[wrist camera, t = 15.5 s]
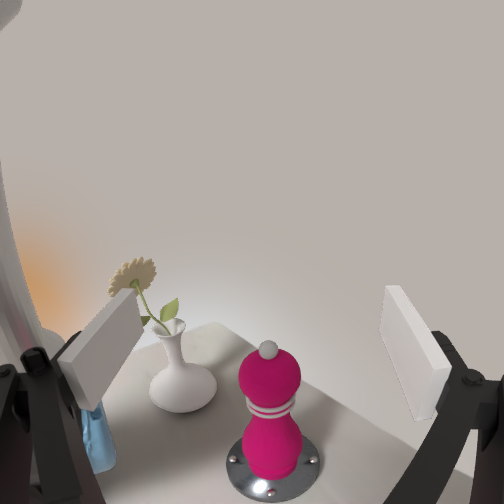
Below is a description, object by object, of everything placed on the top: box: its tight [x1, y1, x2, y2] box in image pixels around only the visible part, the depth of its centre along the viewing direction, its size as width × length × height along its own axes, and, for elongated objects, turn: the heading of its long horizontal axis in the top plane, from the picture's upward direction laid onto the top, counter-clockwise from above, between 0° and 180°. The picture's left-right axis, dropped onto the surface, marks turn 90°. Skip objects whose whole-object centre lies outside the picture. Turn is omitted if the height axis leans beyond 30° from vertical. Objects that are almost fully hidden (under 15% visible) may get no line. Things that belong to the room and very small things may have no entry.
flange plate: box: [226, 435, 320, 503], centre depth 35 cm, size 12×12×2 cm
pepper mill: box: [238, 340, 303, 480], centre depth 31 cm, size 7×7×20 cm
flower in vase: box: [107, 257, 217, 413], centre depth 45 cm, size 13×11×25 cm
